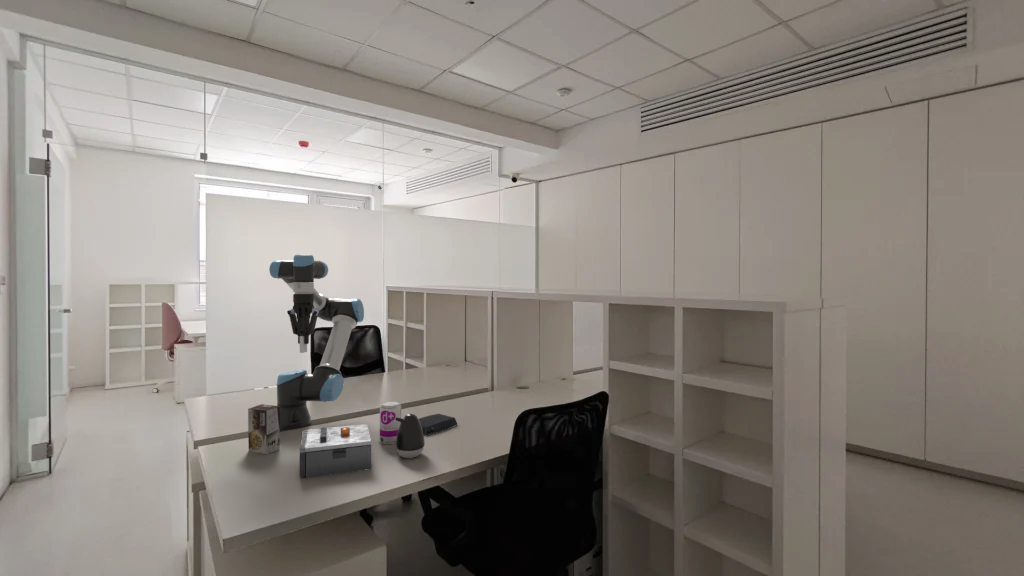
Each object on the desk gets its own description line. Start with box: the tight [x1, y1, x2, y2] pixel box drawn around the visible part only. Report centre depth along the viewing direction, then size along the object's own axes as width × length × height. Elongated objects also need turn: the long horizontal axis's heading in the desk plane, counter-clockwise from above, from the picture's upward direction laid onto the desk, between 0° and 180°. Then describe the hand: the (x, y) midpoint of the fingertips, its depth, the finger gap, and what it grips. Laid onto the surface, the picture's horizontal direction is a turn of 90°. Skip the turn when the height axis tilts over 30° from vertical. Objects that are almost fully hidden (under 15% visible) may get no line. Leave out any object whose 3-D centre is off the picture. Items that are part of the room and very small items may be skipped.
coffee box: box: [247, 404, 281, 455], centre depth 172 cm, size 9×6×16 cm
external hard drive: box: [418, 413, 458, 437], centre depth 201 cm, size 13×19×4 cm
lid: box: [299, 423, 372, 478], centre depth 161 cm, size 22×20×11 cm
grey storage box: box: [305, 444, 372, 478], centre depth 161 cm, size 20×24×8 cm
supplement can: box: [379, 400, 402, 445], centre depth 183 cm, size 8×8×15 cm
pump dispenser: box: [395, 413, 426, 459], centre depth 168 cm, size 10×10×15 cm
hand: (303, 352), depth 186 cm, fingers closed
